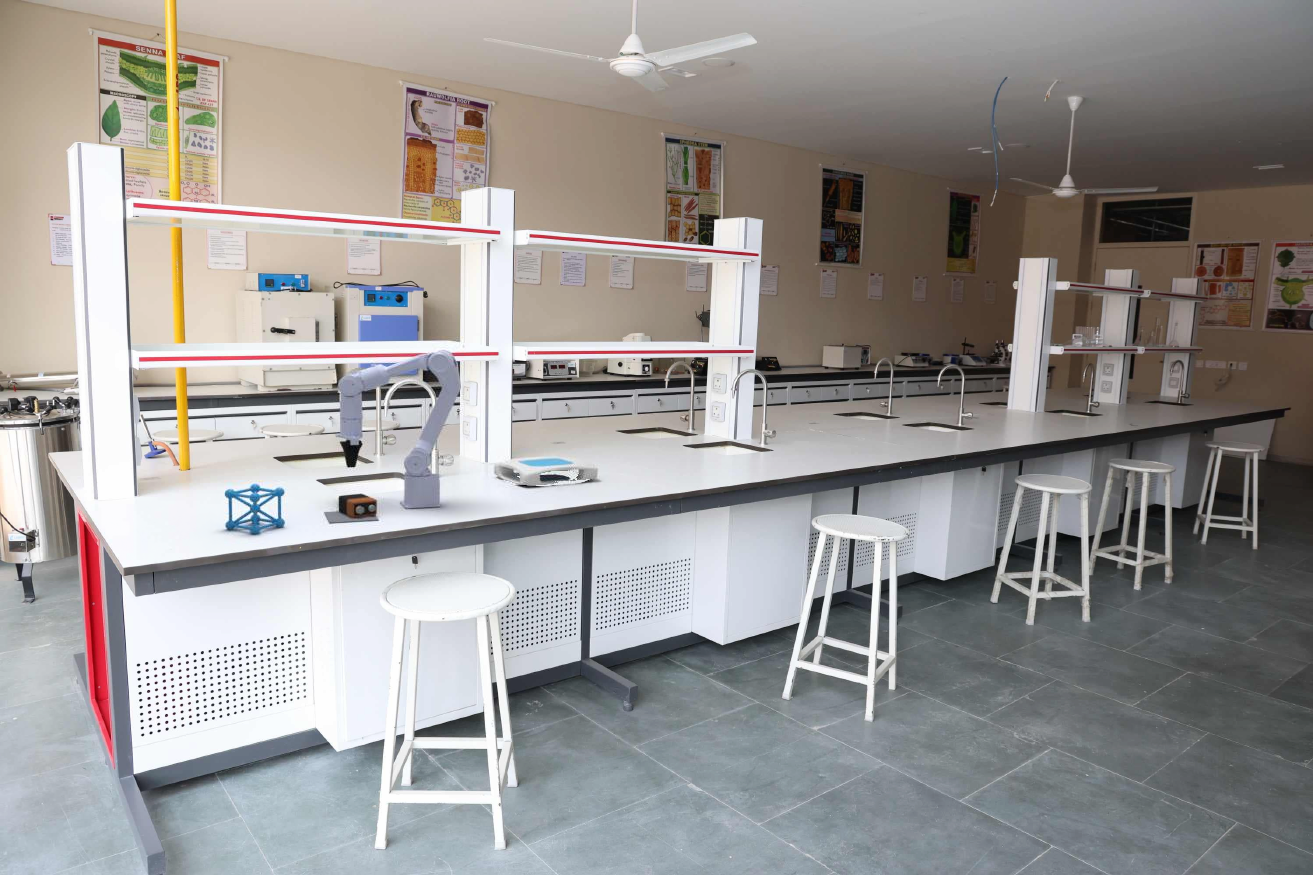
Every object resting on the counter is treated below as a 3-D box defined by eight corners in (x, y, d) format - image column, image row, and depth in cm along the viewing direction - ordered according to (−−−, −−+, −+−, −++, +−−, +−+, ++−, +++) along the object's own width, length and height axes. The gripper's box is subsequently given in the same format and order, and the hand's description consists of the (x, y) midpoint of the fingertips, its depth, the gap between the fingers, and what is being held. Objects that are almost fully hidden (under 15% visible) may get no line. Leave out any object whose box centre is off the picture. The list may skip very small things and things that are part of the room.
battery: (337, 495, 232) (353, 502, 225) (362, 493, 237) (378, 499, 230) (337, 511, 233) (353, 519, 226) (362, 508, 238) (378, 516, 230)
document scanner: (598, 482, 294) (598, 464, 293) (525, 489, 276) (525, 470, 276) (564, 472, 310) (564, 454, 309) (493, 478, 293) (493, 459, 292)
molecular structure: (223, 530, 210) (222, 489, 209) (255, 521, 220) (255, 482, 218) (255, 535, 207) (254, 494, 206) (287, 526, 216) (286, 487, 215)
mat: (371, 510, 237) (371, 509, 237) (378, 520, 227) (378, 519, 227) (324, 512, 232) (324, 511, 232) (329, 523, 221) (329, 522, 221)
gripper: (332, 415, 245) (332, 462, 247) (339, 421, 232) (339, 472, 234) (359, 415, 248) (358, 462, 250) (366, 421, 236) (366, 471, 237)
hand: (351, 467), depth 243 cm, fingers closed
